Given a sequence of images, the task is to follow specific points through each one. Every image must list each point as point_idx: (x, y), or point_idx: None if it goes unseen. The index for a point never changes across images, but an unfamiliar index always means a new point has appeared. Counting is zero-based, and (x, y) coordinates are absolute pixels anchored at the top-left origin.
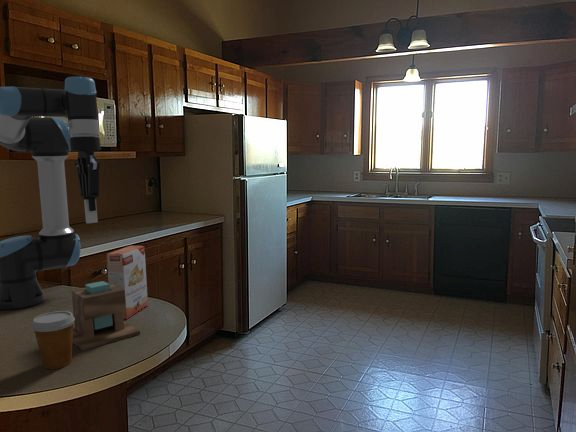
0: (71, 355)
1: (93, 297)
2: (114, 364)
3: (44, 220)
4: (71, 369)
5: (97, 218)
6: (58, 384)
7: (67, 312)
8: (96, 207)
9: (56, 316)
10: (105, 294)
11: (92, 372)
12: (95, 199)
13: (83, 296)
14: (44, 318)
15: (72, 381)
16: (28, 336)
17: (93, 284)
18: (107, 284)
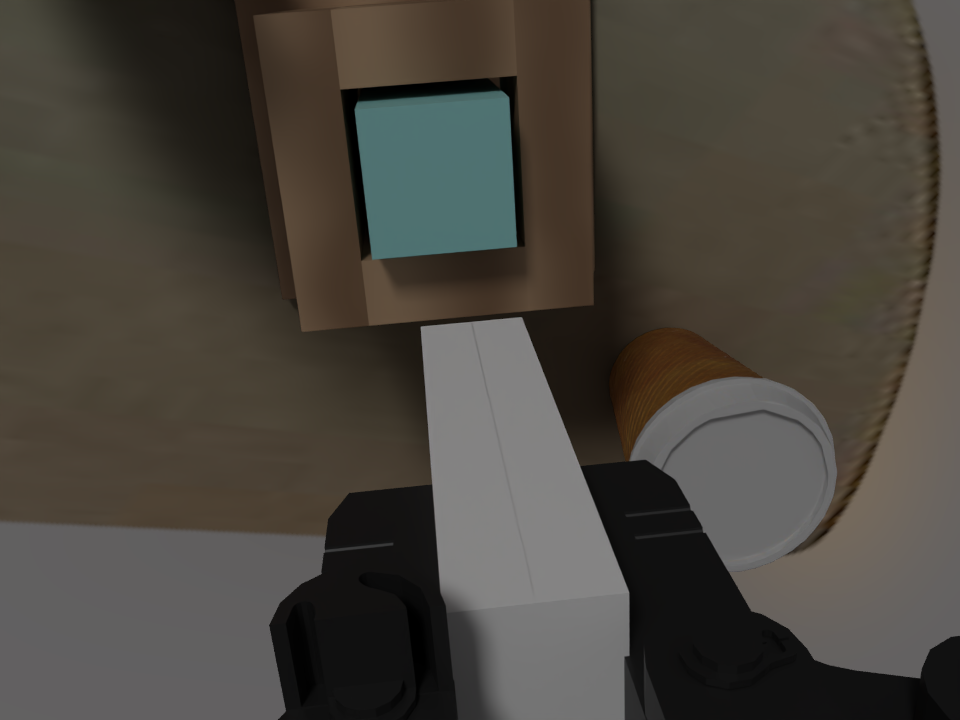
0: (704, 340)
1: (592, 242)
2: (863, 184)
3: None
4: (766, 345)
5: (530, 343)
6: (862, 408)
7: (713, 416)
8: (570, 453)
9: (721, 469)
10: (590, 154)
11: (864, 282)
12: (628, 595)
13: (536, 297)
14: (705, 520)
15: (880, 363)
16: (195, 438)
17: (420, 207)
18: (506, 115)
